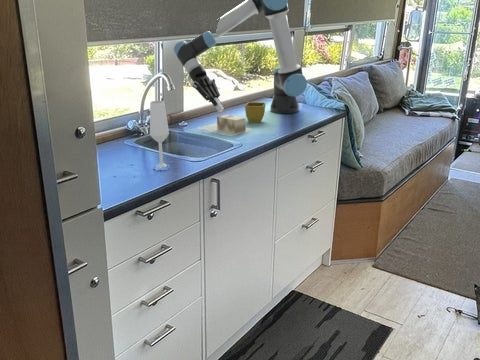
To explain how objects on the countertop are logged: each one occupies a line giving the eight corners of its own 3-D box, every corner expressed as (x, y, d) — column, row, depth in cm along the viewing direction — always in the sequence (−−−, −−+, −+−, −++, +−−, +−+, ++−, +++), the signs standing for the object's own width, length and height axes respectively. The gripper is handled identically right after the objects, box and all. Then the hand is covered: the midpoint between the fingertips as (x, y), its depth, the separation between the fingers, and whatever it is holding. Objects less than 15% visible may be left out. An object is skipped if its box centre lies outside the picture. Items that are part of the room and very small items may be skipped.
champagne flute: (148, 168, 180) (143, 102, 172) (162, 164, 185) (158, 99, 177) (161, 172, 176) (156, 104, 168) (175, 167, 181) (171, 101, 173)
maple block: (217, 116, 228) (236, 120, 220) (226, 114, 232) (245, 118, 225) (217, 129, 230) (236, 133, 223) (226, 126, 234) (245, 131, 227)
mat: (196, 129, 233) (196, 128, 233) (220, 123, 244) (220, 122, 244) (230, 137, 219) (230, 136, 218) (254, 130, 230) (254, 129, 229)
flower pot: (262, 124, 240) (262, 106, 237) (244, 124, 242) (244, 105, 239) (265, 120, 248) (265, 102, 245) (248, 120, 250) (248, 102, 247)
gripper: (202, 74, 241) (227, 113, 236) (181, 77, 232) (207, 118, 227) (209, 63, 236) (235, 103, 231) (188, 66, 227) (215, 108, 222)
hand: (221, 110), depth 229 cm, fingers closed
